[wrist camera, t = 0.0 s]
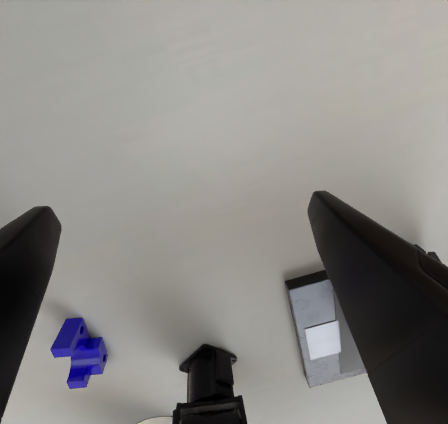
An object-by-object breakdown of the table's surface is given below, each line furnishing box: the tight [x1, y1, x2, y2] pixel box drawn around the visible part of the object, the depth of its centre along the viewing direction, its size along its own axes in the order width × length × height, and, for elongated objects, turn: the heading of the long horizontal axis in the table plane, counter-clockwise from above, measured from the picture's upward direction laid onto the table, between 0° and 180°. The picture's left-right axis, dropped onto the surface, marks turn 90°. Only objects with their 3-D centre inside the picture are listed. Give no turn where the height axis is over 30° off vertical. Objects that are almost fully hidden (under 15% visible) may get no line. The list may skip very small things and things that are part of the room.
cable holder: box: [50, 318, 108, 389], centre depth 32 cm, size 8×4×4 cm, turn 179°
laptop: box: [285, 245, 426, 387], centre depth 37 cm, size 17×24×2 cm
